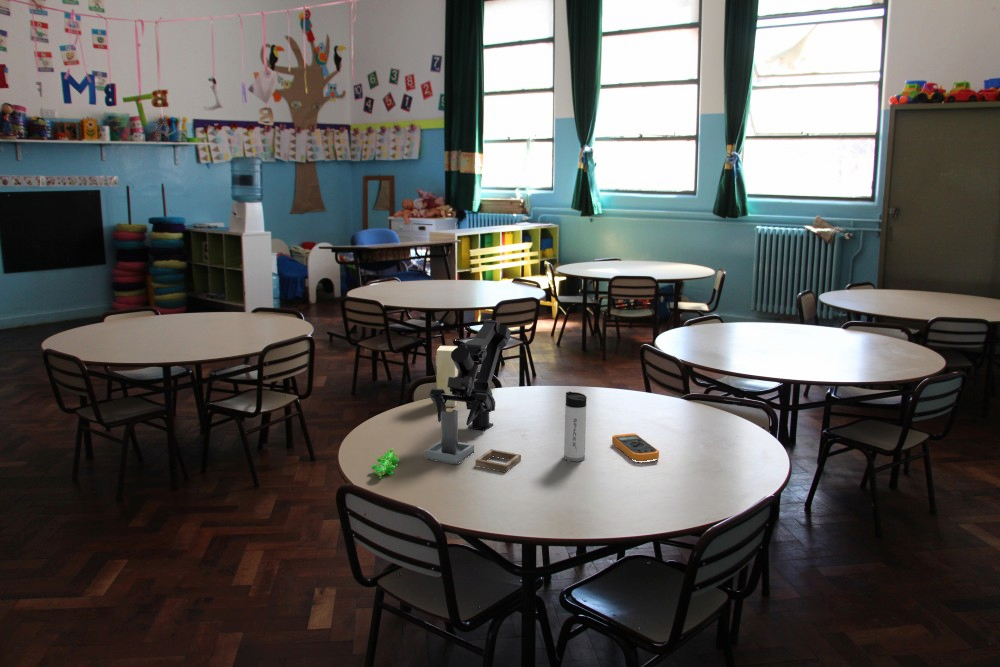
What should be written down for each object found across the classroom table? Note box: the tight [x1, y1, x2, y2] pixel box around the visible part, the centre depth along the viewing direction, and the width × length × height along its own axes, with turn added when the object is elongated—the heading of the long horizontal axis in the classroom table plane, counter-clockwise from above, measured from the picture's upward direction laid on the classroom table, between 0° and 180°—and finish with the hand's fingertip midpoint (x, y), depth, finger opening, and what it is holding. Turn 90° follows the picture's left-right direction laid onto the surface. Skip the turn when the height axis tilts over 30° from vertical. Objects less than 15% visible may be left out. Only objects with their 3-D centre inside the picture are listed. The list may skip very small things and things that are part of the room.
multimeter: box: [611, 432, 660, 461], centre depth 242 cm, size 9×18×3 cm, turn 16°
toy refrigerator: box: [435, 345, 459, 408], centre depth 287 cm, size 8×7×21 cm
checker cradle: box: [474, 449, 522, 473], centre depth 232 cm, size 10×10×2 cm
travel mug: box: [563, 391, 587, 462], centre depth 235 cm, size 6×7×20 cm
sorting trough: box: [423, 440, 475, 465], centre depth 238 cm, size 11×11×2 cm
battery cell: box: [440, 407, 459, 455], centre depth 236 cm, size 5×5×14 cm
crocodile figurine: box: [371, 447, 400, 480], centre depth 227 cm, size 7×18×4 cm, turn 175°
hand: (453, 423), depth 239 cm, fingers open, 9 cm apart
